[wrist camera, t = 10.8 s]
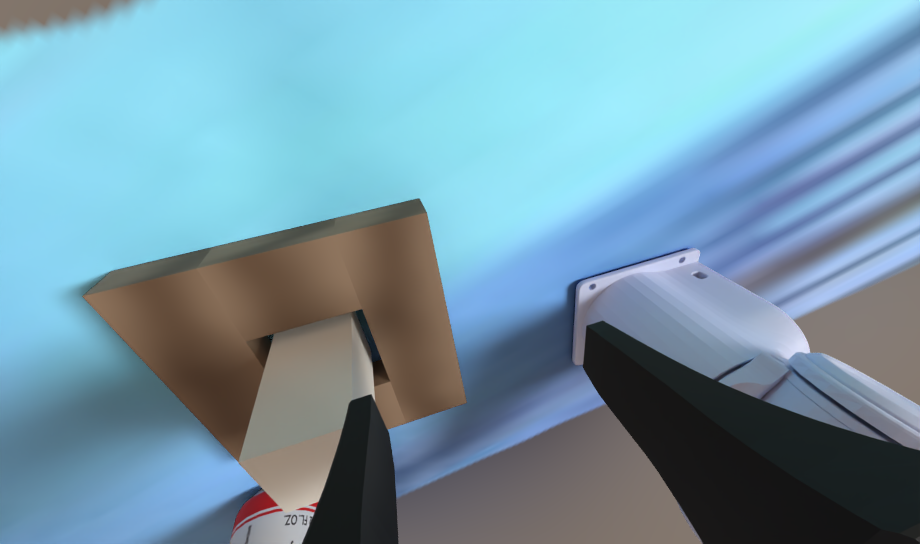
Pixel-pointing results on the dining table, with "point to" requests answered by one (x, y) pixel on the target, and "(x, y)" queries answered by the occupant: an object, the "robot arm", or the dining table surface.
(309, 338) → the peg
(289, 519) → the beer can
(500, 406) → the dining table surface
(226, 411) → the slotted board
